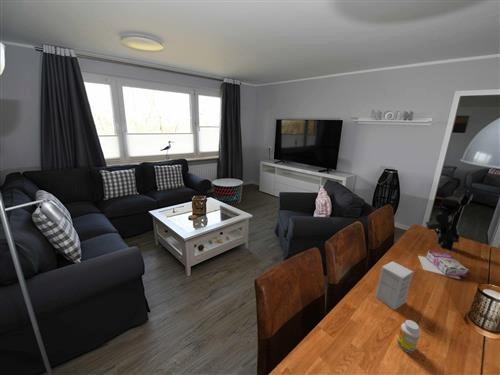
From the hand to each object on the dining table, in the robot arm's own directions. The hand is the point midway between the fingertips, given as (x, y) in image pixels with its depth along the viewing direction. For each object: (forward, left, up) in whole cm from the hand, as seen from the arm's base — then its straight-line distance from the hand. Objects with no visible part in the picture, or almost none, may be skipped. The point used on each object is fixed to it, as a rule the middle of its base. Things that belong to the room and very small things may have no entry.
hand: (438, 243), depth 136 cm
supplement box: (+52, -28, -11) cm, 60 cm away
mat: (+8, 0, -11) cm, 14 cm away
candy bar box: (-1, +1, -8) cm, 8 cm away
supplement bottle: (+76, -25, -11) cm, 81 cm away
